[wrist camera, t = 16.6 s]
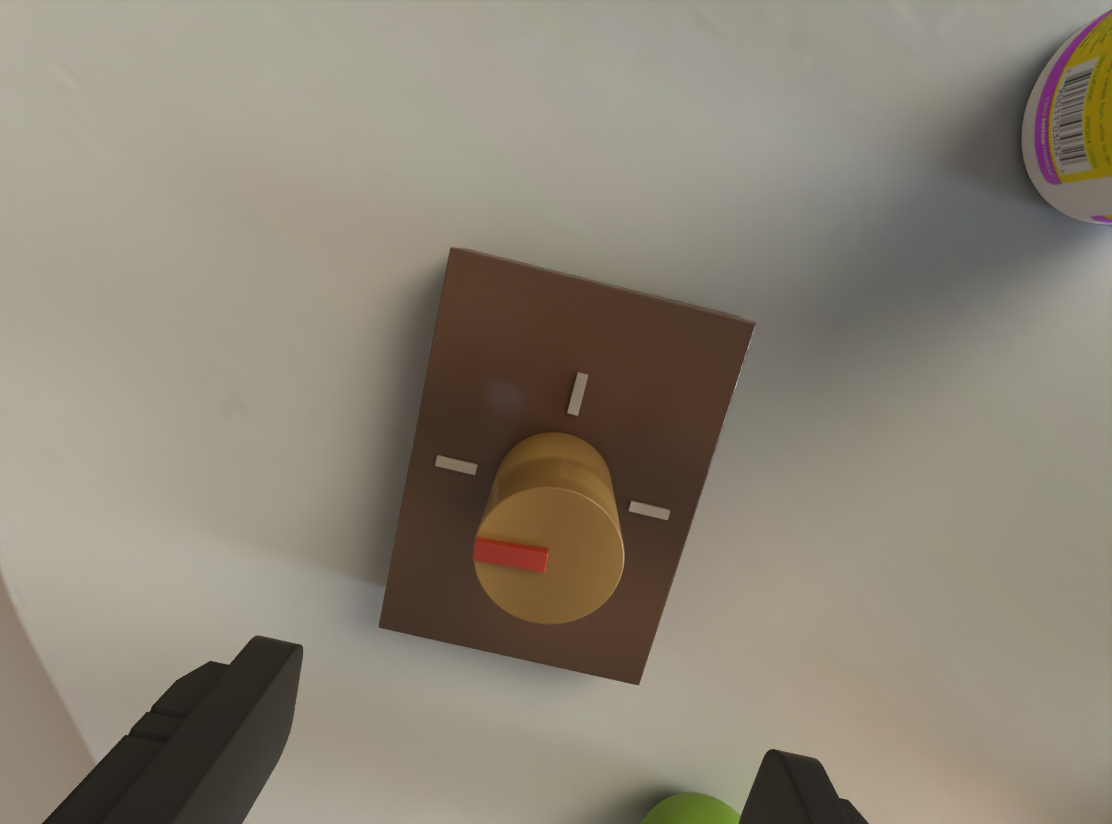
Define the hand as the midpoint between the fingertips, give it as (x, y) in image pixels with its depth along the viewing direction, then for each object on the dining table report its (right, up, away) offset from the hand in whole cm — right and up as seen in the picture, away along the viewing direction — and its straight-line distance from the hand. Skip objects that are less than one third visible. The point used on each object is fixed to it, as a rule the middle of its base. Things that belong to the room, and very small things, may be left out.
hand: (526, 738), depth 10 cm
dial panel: (0, +4, +13) cm, 14 cm away
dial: (0, +3, +10) cm, 11 cm away
